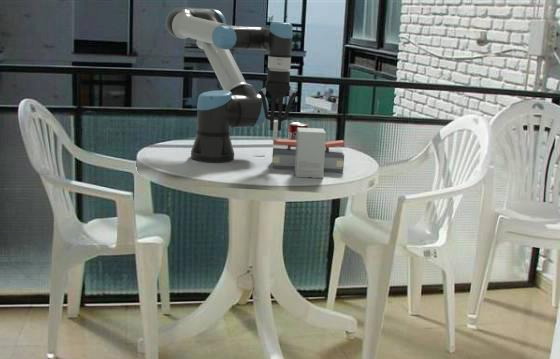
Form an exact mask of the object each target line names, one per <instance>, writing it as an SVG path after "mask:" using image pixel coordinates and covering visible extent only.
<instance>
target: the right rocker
mask: <svg viewBox="0 0 560 359" xmlns="http://www.w3.org/2000/svg"><path fill="white" fill-rule="evenodd" d="M344 146H345V141H344V139H341V140H331V141H326V142H325V149H326V148H329V149H330V148H337V147H344Z"/></svg>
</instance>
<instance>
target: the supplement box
mask: <svg viewBox="0 0 560 359" xmlns="http://www.w3.org/2000/svg"><path fill="white" fill-rule="evenodd" d="M326 137H327V132H326V131H325V129H324V128H316V127H314V128H313V127H309V128H298V127H297V139H296V156H295V170H294V173H295V174H294V175H295V177H296V178H308V177H312V178H313V179H324V172H325V171H324V157H325V149H326V148H325V142H327V140H326V139H327V138H326Z"/></svg>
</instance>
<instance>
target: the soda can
mask: <svg viewBox="0 0 560 359" xmlns="http://www.w3.org/2000/svg"><path fill="white" fill-rule="evenodd" d="M297 127H298V128H310V127H309V124H308V123H303V122H290V123H289V124H288V132H287V133H288V134H287V140H296V139H297ZM290 146H291V147H296V146H292V145H290Z"/></svg>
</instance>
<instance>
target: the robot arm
mask: <svg viewBox="0 0 560 359" xmlns="http://www.w3.org/2000/svg"><path fill="white" fill-rule="evenodd" d="M165 27H166V30H167V31H168V33H169V34H170V35H171V36H173V37H174V38H177V39H182V40H193V41H194V42H195V44H196V46H197V47H198V48H199V49H201V50H203V51H204V53H205V56H206V58H207V60H208V61H209V64H210V65H211V67H212V70H213V71H214V73H215V76H216V77H217V80H218V81H219V84H220V85H221V88H222V89H221V90H209V91H205V92H204V91H203V92H202V93H200V94H199V95H198V98H197V105H196V110H197V111H196V114H197V115H196V136H195V140H194V142H193V144H192V148H191V150H190V159H192V160H195V161H199V162H203V163H228V162H233V161H234V160H235V150H234V146H233V144H232V140H231V129H232V128H234V129H235V128H249V127H250V128H253V127H259V126H261V125H263V124H264V123H265V121H266V120H269V130H270V131H273V132H272V141H277V139H278V132H281V130H282V122H283V121H287V119H288V117H289V113H290V111H291V107H292V103H293V100H294V99H295V98H296V96H297V92H296V91H295V90H293V89H291V85H290V80H291V78H290V77H291V72H290V71H289V70H291V67H292V66H291V64H292V62H291V60H292V49H293V48H292V46H293V38H294V37H293V25H292V24H291V23H290V22H278V21H276V22H275V21H273V22H271V23H270V25H269V27H263V26H240V25H231V24H227V20H226V18H225V16H224V14H223V13H222V12H221V11H219V10H218V9H215V8H214V9H213V8H210V7H209V8H208V7H206V8H200V7H186V6H183V7H176V8H174V9H172V10H171V11H170V12H169V13H168V14H167V16H166V18H165ZM230 50H252V51H253V50H257V51H268V56H267V58H268V59H267V68H268V70H267V76H266V84H265V86H264V87H263V88H262V89H259V90H258V93H257V92H256V90H255V88H254V86H253V85H252V84H250V83H247V82H246V80H245V77H244V76H243V73H242V72H241V70H240V67H239V66H238V64H237V63H236V60H235V59H234V57H233V55H232V52H231V51H230ZM266 94H268V95H269V96H270V98H271V106H270V114H269V102H268V99H267V97H266ZM287 95H288V96H289V98H288V101H287V103H286V104H287V105H286V106H285V111H284V114H283V105H284V104H283V103H284V98H285V97H286V96H287ZM277 98H278V115H277V117H278V118H277V120H275V111H276V110H275V109H276V99H277Z"/></svg>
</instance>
